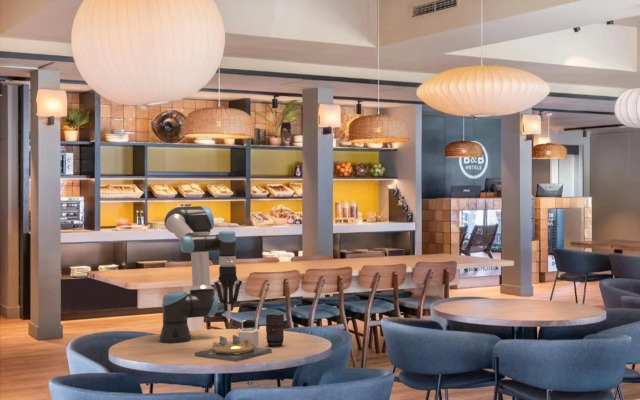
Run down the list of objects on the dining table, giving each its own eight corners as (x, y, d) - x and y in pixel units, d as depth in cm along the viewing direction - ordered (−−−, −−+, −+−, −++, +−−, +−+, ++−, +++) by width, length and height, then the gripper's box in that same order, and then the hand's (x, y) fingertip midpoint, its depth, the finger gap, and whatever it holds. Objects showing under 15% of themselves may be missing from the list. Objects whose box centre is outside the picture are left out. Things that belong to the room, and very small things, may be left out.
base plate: (194, 355, 402) (194, 352, 402) (230, 347, 422) (230, 343, 422) (236, 361, 388) (236, 357, 388) (271, 352, 408) (271, 348, 408)
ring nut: (259, 351, 400) (259, 339, 400) (220, 355, 393) (220, 342, 393) (245, 345, 417) (245, 333, 417) (207, 348, 409) (207, 336, 409)
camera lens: (281, 347, 420) (281, 315, 419) (264, 347, 421) (264, 314, 421) (285, 344, 427) (285, 312, 427) (269, 344, 429) (268, 312, 429)
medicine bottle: (258, 344, 428) (258, 319, 428) (252, 347, 421) (252, 321, 421) (244, 344, 430) (244, 318, 430) (238, 346, 424) (238, 320, 423)
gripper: (216, 266, 404) (217, 320, 404) (244, 265, 409) (245, 318, 409) (211, 265, 410) (211, 318, 411) (238, 264, 416) (239, 316, 416)
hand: (228, 318), depth 410 cm, fingers closed
